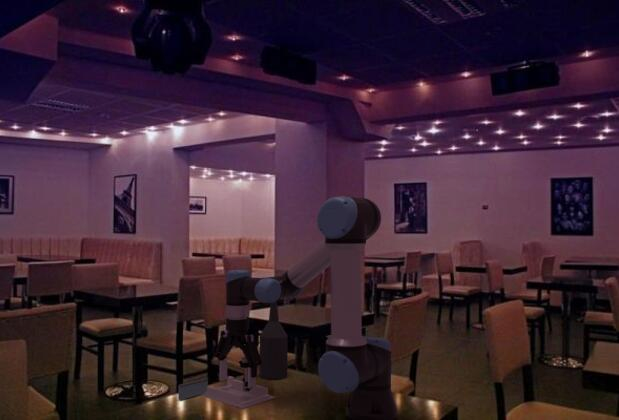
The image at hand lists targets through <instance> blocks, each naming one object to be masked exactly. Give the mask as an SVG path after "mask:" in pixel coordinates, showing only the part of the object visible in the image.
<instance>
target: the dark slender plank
mask: <svg viewBox="0 0 619 420" xmlns="http://www.w3.org/2000/svg"><path fill="white" fill-rule="evenodd" d="M177 386H178V391H177V392H178V394H177V395H178V396H177V397H178V400H180V401H182V400H187V399H190V398H192V397H196V396H201V395H200V394H204V393H205V392H207V387H208V386H209V378H207V377H204V378H200V379H196V380H192V381H188V382H184V383H181V384H178V385H177Z"/></svg>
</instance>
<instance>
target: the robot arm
mask: <svg viewBox="0 0 619 420" xmlns="http://www.w3.org/2000/svg"><path fill="white" fill-rule="evenodd" d="M380 210H381V209H380V208H379V207H378V205H377V204H376V203H375V202H374V201H372V200H371V199H369V198H364V197H355V196H346V195H345V196H343V195H341V196H334V197H330V198H328V199H327V200H325V202H324V203H323V204H322V205H321V206H320V208H319V210H318V212H317V219H316V222H317V228H318V230H319V231H320V232H321V233H320V234H322V235H323V236H324V239H323V240H322V241H321V242H320V243H318V244H317V245H316V246H315V247H314V248H312V249H311V250H309V252H308V253H307V254H305V255H304V256H303V257H302V258H300V260H298V261H297V262H296V263H295V264H294V265H292V266H291V267H290V268H289V269H288V270H286V271H285V272H284V273H283V274H281V275H277V276H276V275H275V276H265V277H252V276H250V271H249V270H247V269H231V270H228V271H227V273H226V280H225V289H226V290H225V291H226V292H225V294H226V295H225V300H226V301H225V317H226V319H225V330H221V331H220V338H219V340H218V343H217V346H216V348H215V351H214V354H213V357H214V358H216V359H217V360H218V370H219V382H222V381H227V377H228V359H227V357H228V355H229V353H230V352H231V350H232V349H233V347H235V348H239V349H240V350H241V352H242V353H243V356H244V357H246V359H247V361H248V363H249V365H250V366H249V367H248V388H253V387H256V385H257V383H256V382H257V380H256V379H257V376H258V367H260V365H262V361H261V358H260V351H259V349H258V346H257V343H256V335H255V334H254V333H253V334H248V331H249V329H250V319H249V316H250V302H259V303H264V304H267V303H268V304H269V303H270V304H271V303H273V302H275V301H276V300H281V299H290V298H291V299H292V298H295V297H298V296H300V295H301V294H302V293H303V291H304V288H305V286H306V285H308V284H309V283H310V282H311V281H312V280H314V279H315V278H316V277H318V275H319V276H320V274H321V273H323V272H324V271H325V270H326V269H328V267H330V318H331V319H330V336H329V337H328V338H327V339H326V341H325V352H323V354H322V356H321V357H320V358H319V361H318V365H317V370H318V372H317V373H318V375H319V378H320V380H321V381H322V383H323V384H324V386H326V388H328V389H329V390H330V391H331V392H334V393H336V394H345V393H350V394H349V397H348V399H347V404H346V407H345V410H346V411H345V412H346V413H345V415H346V417H347V418H349V419H350V420H396V419H397V417H398V407H397V405H396V401H395V397H394V395H393V391H392V345H391V341H390V340H388V339H386V338H383V337H375V336H367V335H366V336H363V333H362V331H363V330H362V250H363V248H364V247H365V246H366V245H367V241H368V240H369V239H370V238H371V237H373V236H374V235H375V234H376V233H377V232H378V231H379V229H380V226H381V222H382V214H381V211H380ZM252 362H253V363H252Z"/></svg>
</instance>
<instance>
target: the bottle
mask: <svg viewBox="0 0 619 420" xmlns="http://www.w3.org/2000/svg"><path fill="white" fill-rule="evenodd" d="M277 300H278V299H277ZM277 300H276V301H275V302H273V303H270V305H269V314H268V321H267V323H266V325H265V326H264V328H263V329H262V331H261V333H260V334H259V355H260V358H261V361H262V365H259V377H260V378H261V379H264V380H268V381H269V380H270V381H271V380H272V381H273V380H274V381H279V380H283V379H286V378H287V377H288V352H289V351H288V349H289V347H288V346H289V345H288V341H289V339H288V333H287V332H286V331H285V329H284V327H283V326H282V325H281V323H280V321H279V320H280V319H279V309H278V308H279V306H278V301H277Z"/></svg>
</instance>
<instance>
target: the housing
mask: <svg viewBox="0 0 619 420" xmlns="http://www.w3.org/2000/svg"><path fill="white" fill-rule="evenodd" d="M226 381H227V383H226V385H224V386H221V387H214V386H210V385H208V387H207V392H205V393H204V394H200V395H199V396H200V397H201V396H202V397H205V398H206V399H210V400H214V401H216V402H220V403H221V404H225V405H228V406H231V407H235V408H238V409H242V410H243V409H247V408H249V407H252V406H253V407H254V406H256V405H258V404H262V403H265V402H267V401H271V400H273V399H276V396H274V395H270V394H269V392H268V391H269V388H268V387H266V386H262V385H257V384H256V387H253V389H252V388H251V390H250V391H246V392H244V390H243V380H242V381H241V380H238V379H235V377H234V376H232V375H231V376H230V375H229V376H227V379H226Z"/></svg>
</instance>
